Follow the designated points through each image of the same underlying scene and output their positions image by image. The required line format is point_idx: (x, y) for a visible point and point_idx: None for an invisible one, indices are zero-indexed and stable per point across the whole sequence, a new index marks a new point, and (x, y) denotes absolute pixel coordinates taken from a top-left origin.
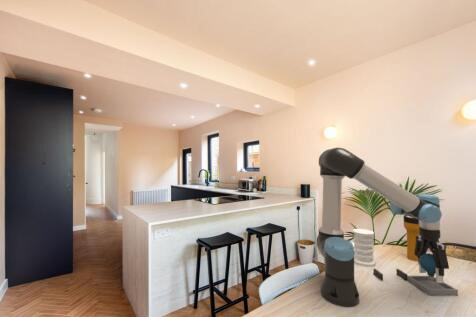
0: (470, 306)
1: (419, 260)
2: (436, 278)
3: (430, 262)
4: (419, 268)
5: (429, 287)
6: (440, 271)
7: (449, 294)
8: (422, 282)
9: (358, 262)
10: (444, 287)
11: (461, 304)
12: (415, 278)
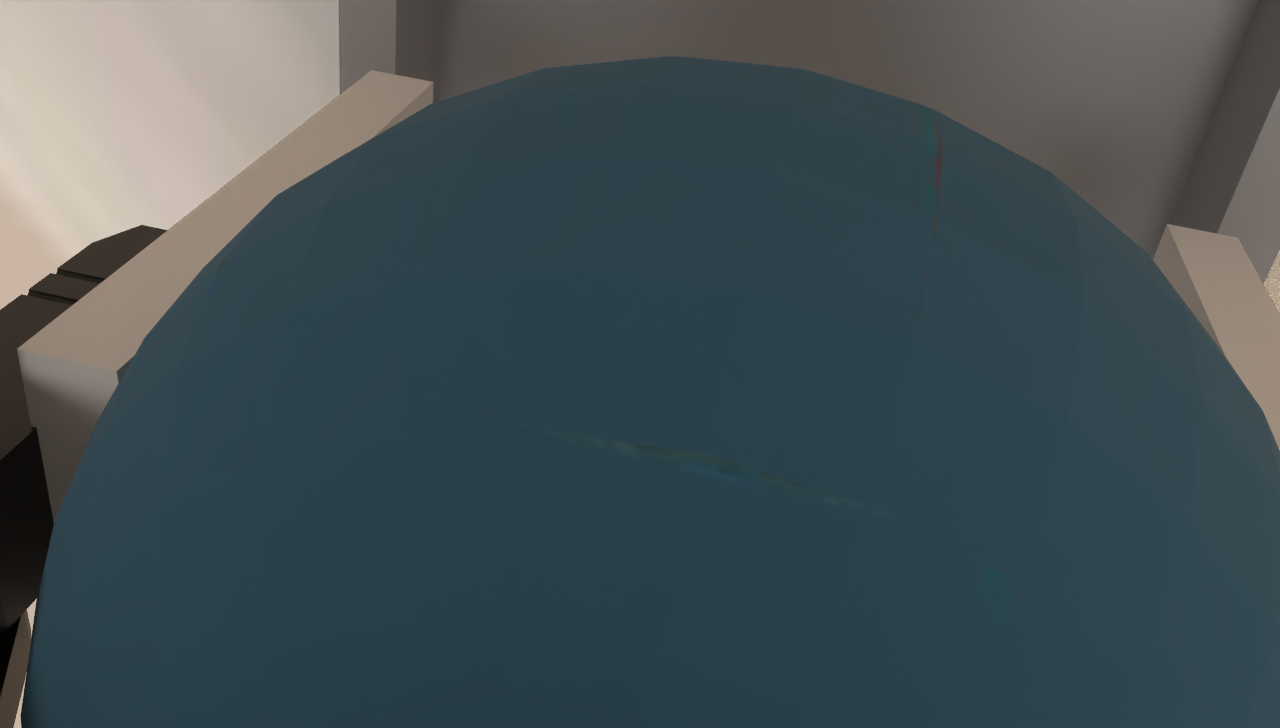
0: (16, 185)
1: (1087, 274)
2: (351, 128)
3: (136, 384)
4: (1264, 320)
5: (763, 31)
6: (18, 328)
7: None
8: (1065, 120)
9: None
10: None
11: (64, 74)
12: (1273, 34)
